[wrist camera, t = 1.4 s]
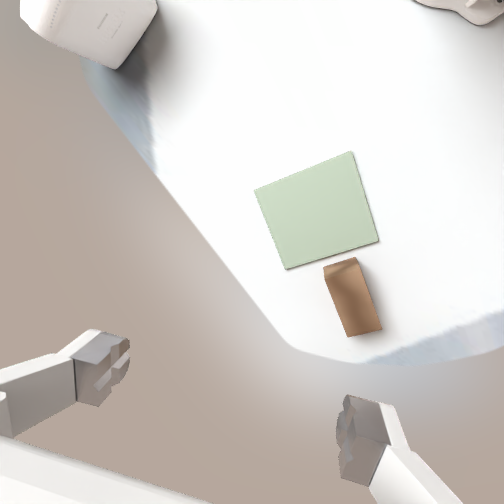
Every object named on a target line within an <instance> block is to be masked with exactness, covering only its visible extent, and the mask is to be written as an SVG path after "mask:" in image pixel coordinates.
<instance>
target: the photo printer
mask: <svg viewBox="0 0 504 504" xmlns="http://www.w3.org/2000/svg"><path fill="white" fill-rule="evenodd" d="M20 4H21V5H20V14H21V18H22V19H23V20H24V21H26V23H27V24H28V25H29V26H30V28H31V29H32V30H34V31H35V32H36V33H37V34H39V35H40V36H42V37H43V38H45V39H46V40H47V41H49V42H51V43H53V44H54V45H56V46H59V47H61V48H64V49H66V50H68V51H71V52H73V53H75V54H78V55H80V56H82V57H85V58H87V59H90V60H92V61H94V62H97V63H99V64H102V65H104V66H106V67H109V68H111V69H117V68H118V67H119V66H120V65H121V64H122V63H123V62H124V60H125V59H126V58H127V56H128V55H129V54H130V52H131V51H132V49H133V48H134V47H135V45H136V44H137V42H138V41H139V39H140V38H141V36H142V35H143V33H144V32H145V30H146V29H147V27H148V26H149V24H150V22H151V21H152V19H153V17H154V16H155V13H156V11H157V9H158V6H157V3H156V0H21V3H20Z"/></svg>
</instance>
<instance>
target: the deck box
mask: <svg viewBox="0 0 504 504" xmlns="http://www.w3.org/2000/svg"><path fill="white" fill-rule="evenodd" d="M323 269H324V278H325V282H326V284H327V287H328V289H329V292H330V294H331V297H332V299H333V302H334V304H335V307H336V309H337V312H338V314H339V317H340V319H341V322H342V325H343V327H344V330H345V332H346V335H347V337H352V336H356V335H361V334H365V333H369V332H373V331H377V330H382V327H381V324H380V322H379V319H378V316H377V313H376V311H375V308H374V305H373V302H372V300H371V297H370V294H369V291H368V289H367V286H366V283H365V280H364V277H363V275H362V272H361V269H360V267H359V264H358V262H357V260H356V258H355V257H353V258H350V259H347V260H344V261H341V262H338V263H335V264H331V265H328V266H325V267H323Z"/></svg>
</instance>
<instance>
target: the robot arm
mask: <svg viewBox="0 0 504 504" xmlns="http://www.w3.org/2000/svg"><path fill="white" fill-rule="evenodd" d="M416 1H418V2H420V3H422V4H424V5H427V6H431V7H436V8H444V9H450V10H454V11H457V12H458V13H459V14H460V15H461V16H463V17H464V18H465V19H467V20H468V21H470V22H471V23H473V24H476V25H484V24H487V23H489V22H490V21H492V20H493V19H495V18H496V17H498V16H499V15H501V14H502V13H504V0H502V3H498V2H497V0H416ZM129 343H130V342H129V340H128V339H127V338H124V337H120V336H117V335H114V334H110V333H107V332H102V331H99V330H95V329H89V330H87V331H86V332H84V333H83V334H82V335H80V336H79V337H78V338H77V339H75V340H74V341H73V342H71V343H70V344H69V345H67V346H66V347H65V348H63V349H62V350H61V351H59V352H58V353H57V354H48V355H45V356H42V357H39V358H35V359H32V360H29V361H26V362H22V363H19V364H16V365H13V366H10V367H6V368H3V369H0V504H213V503H210V502H207V501H204V500H201V499H198V498H195V497H192V496H188V495H185V494H182V493H179V492H176V491H173V490H170V489H167V488H164V487H161V486H158V485H155V484H151V483H148V482H145V481H142V480H139V479H136V478H133V477H129V476H127V475H124V474H120V473H117V472H114V471H111V470H108V469H105V468H101V467H99V466H96V465H92V464H89V463H86V462H83V461H80V460H77V459H74V458H71V457H68V456H65V455H61V454H58V453H55V452H52V451H49V450H46V449H43V448H40V447H37V446H33V445H30V444H27V443H24V442H21V441H18V440H15V439H14V437H15V436H16V435H18V434H20V433H22V432H24V431H26V430H27V429H29V428H31V427H33V426H35V425H36V424H38V423H40V422H42V421H44V420H45V419H47V418H49V417H51V416H53V415H54V414H56V413H58V412H60V411H62V410H63V409H65V408H67V407H69V406H71V405H73V404H74V403H76V401H77V402H81V403H85V404H90V405H93V406H97V407H99V406H100V405H101V404H102V402H103V401H104V400H105V399H106V398H107V397H108V395H109V394H110V393H111V386H113V385H115V384H118V383H120V381H121V380H122V379H123V378H124V376H125V374H126V372H127V370H128V367H129V363H130V360H129V359H130V357H129V356H128V354H127V352H126V351H127V350H128V349H129V348H130V345H129ZM343 407H344V411H342V412H340V413H339V417H338V420H337V427H336V439H337V444H338V445H339V447H340V448H341V451H340V454H339V466H340V474H341V478H343V479H346V480H349V481H352V482H355V483H359V484H362V485H365V486H368V487H369V490H370V492H371V493H372V495H373V497H374V499H375V500H376V502H377V504H463V503H462V502H461V501H460V500H459V499H458V498H457V496H455V494H454V493H453V492H452V491H451V490H450V489H449V488H448V487H447V486H446V485H445V484H444V482H443V481H442V480H441V479H440V478H439V477H438V476H437V475H436V474H435V473H434V472H433V471H432V470H431V469H430V467H429V466H427V464H426V463H425V462H424V461H423V460H422V459H421V458H420V457H419V456H418V455H417V454H416V453H415V452H412V451H410V448H409V445H408V443H407V440H406V437H405V435H404V432H403V429H402V426H401V424H400V421H399V418H398V416H397V413H396V410H395V408H394V407H393V406H392V405H389V404H385V403H380V402H375V401H371V400H367V399H363V398H359V397H355V396H351V395H346V396H345V399H344V401H343Z"/></svg>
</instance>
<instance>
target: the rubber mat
mask: <svg viewBox="0 0 504 504" xmlns="http://www.w3.org/2000/svg"><path fill="white" fill-rule="evenodd" d="M254 193H255V195H256V198H257V200H258V203H259V205H260V208H261V210H262V213H263V215H264V218H265V220H266V223H267V225H268V228H269V230H270V233H271V235H272V238H273V240H274V243H275V245H276V248H277V251H278V253H279V256H280V258H281V261H282V263H283V266H284V268H285V269H289V268H292V267H295V266H298V265H302V264H305V263H308V262H311V261H315V260H318V259H321V258H324V257H328V256H331V255H334V254H337V253H341V252H344V251H347V250H350V249H354V248H357V247H360V246H363V245H367V244H370V243H373V242H377V241H379V240H378V236H377V233H376V230H375V227H374V223H373V220H372V217H371V213H370V210H369V207H368V204H367V200H366V197H365V194H364V190H363V187H362V184H361V181H360V177H359V174H358V171H357V167H356V164H355V161H354V158H353V154H352V151H349V152H346V153H344V154H341V155H339V156H337V157H334V158H332V159H329V160H327V161H324V162H322V163H319V164H317V165H315V166H312V167H310V168H307V169H305V170H302V171H300V172H297V173H295V174H293V175H290V176H288V177H285V178H283V179H280V180H278V181H275V182H273V183H271V184H268V185H266V186H263V187H261V188H258V189H256V190H254Z"/></svg>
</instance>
